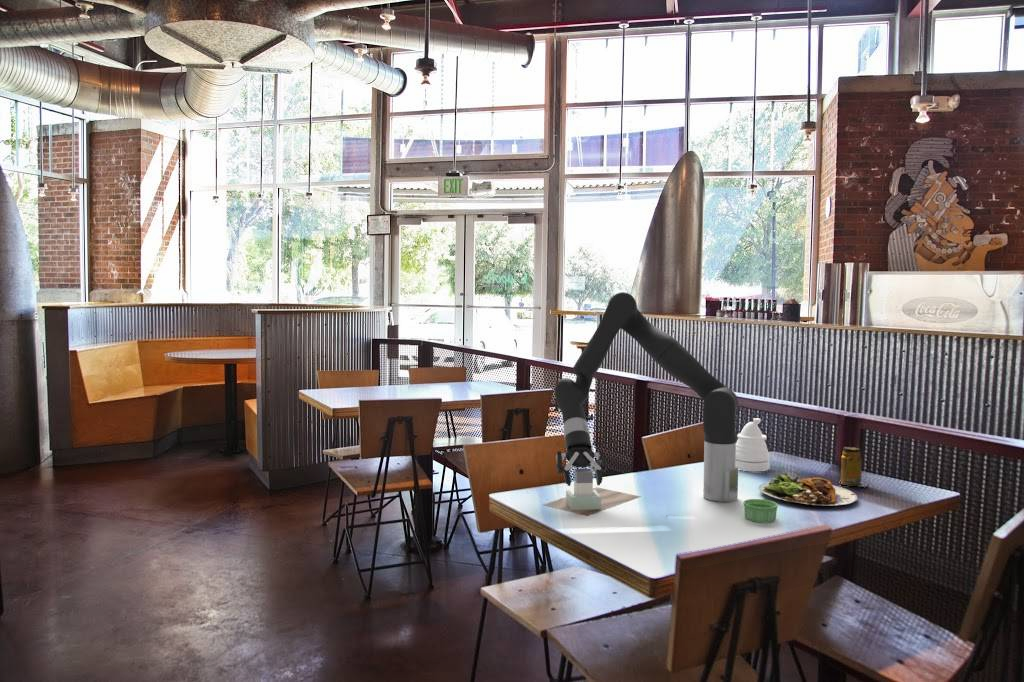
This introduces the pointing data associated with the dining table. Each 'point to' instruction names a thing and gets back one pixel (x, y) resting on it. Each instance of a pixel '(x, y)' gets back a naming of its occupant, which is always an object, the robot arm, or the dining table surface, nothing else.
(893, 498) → the dining table surface
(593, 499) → the end holder
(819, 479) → the plate of food
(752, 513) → the ramekin
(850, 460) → the condiment
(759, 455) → the honey pot
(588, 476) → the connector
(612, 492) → the board
